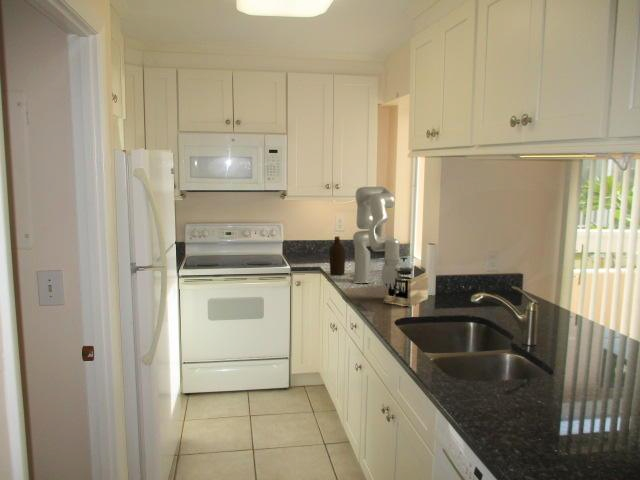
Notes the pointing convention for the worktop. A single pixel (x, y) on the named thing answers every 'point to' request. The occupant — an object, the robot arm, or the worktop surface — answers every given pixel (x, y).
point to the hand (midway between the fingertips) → (391, 295)
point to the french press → (403, 281)
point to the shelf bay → (413, 291)
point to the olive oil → (337, 258)
